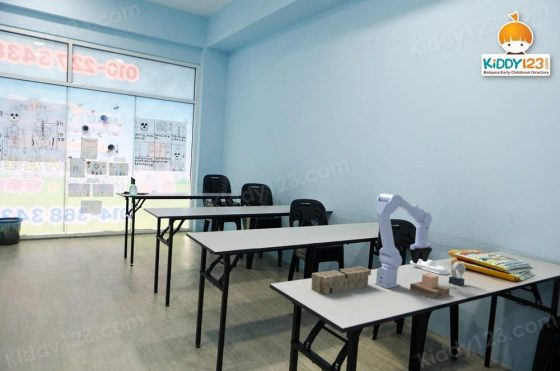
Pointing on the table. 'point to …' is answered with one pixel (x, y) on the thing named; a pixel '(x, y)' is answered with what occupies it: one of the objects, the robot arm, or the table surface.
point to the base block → (429, 290)
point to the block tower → (340, 280)
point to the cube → (430, 280)
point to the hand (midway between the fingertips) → (419, 262)
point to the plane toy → (430, 266)
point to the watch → (456, 278)
